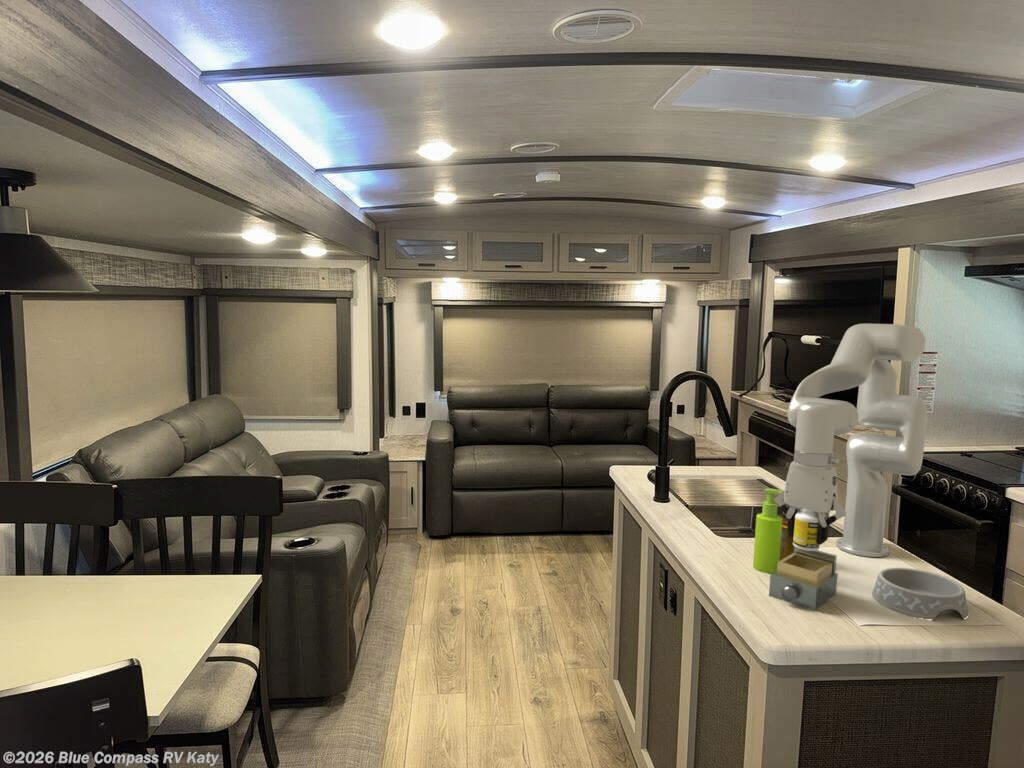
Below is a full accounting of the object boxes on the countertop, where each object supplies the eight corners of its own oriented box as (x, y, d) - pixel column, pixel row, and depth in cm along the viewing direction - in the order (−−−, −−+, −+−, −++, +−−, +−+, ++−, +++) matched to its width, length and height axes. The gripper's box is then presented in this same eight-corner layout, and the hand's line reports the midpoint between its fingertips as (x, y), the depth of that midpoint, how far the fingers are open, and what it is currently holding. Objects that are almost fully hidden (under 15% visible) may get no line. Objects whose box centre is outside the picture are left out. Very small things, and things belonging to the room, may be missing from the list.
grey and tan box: (791, 580, 153) (794, 544, 152) (836, 594, 146) (839, 556, 145) (764, 598, 143) (767, 558, 142) (811, 613, 136) (814, 572, 135)
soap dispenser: (779, 576, 156) (784, 494, 154) (750, 568, 160) (755, 489, 158) (785, 568, 160) (791, 489, 158) (757, 561, 165) (762, 484, 162)
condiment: (807, 565, 163) (811, 518, 162) (773, 563, 164) (776, 517, 162) (796, 554, 171) (800, 510, 169) (763, 553, 171) (766, 508, 170)
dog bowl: (854, 588, 150) (856, 566, 150) (927, 586, 153) (929, 564, 152) (908, 624, 133) (910, 599, 133) (988, 620, 136) (991, 596, 135)
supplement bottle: (806, 553, 141) (810, 508, 139) (787, 544, 145) (790, 501, 144) (825, 550, 143) (828, 506, 142) (805, 541, 148) (808, 499, 147)
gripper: (861, 463, 139) (854, 545, 140) (781, 450, 151) (775, 526, 153) (848, 468, 133) (841, 554, 135) (766, 454, 145) (761, 533, 147)
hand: (806, 538), depth 144 cm, fingers closed on supplement bottle, 5 cm apart
